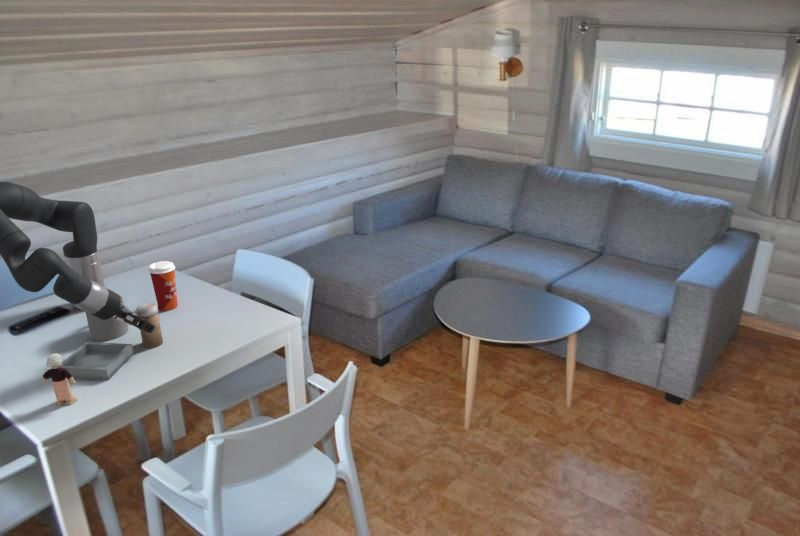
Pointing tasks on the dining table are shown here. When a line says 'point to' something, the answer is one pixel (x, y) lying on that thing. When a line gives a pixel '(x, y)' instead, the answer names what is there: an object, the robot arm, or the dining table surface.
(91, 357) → the stoneware tray
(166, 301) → the paper cup
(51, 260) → the robot arm
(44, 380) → the grandmother figurine
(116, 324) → the coffee mug
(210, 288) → the dining table surface
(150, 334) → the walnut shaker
